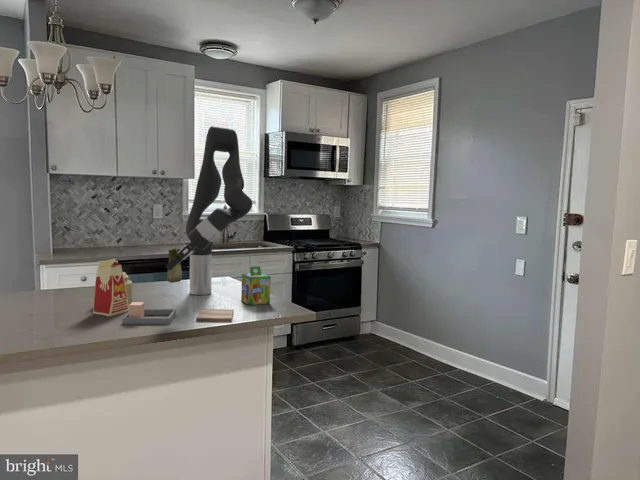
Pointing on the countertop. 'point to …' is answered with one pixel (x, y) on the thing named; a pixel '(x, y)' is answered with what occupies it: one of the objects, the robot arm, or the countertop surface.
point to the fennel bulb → (175, 272)
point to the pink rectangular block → (136, 310)
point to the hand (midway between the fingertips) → (169, 267)
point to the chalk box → (255, 287)
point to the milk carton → (110, 289)
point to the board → (215, 315)
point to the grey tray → (151, 320)
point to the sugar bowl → (128, 288)
